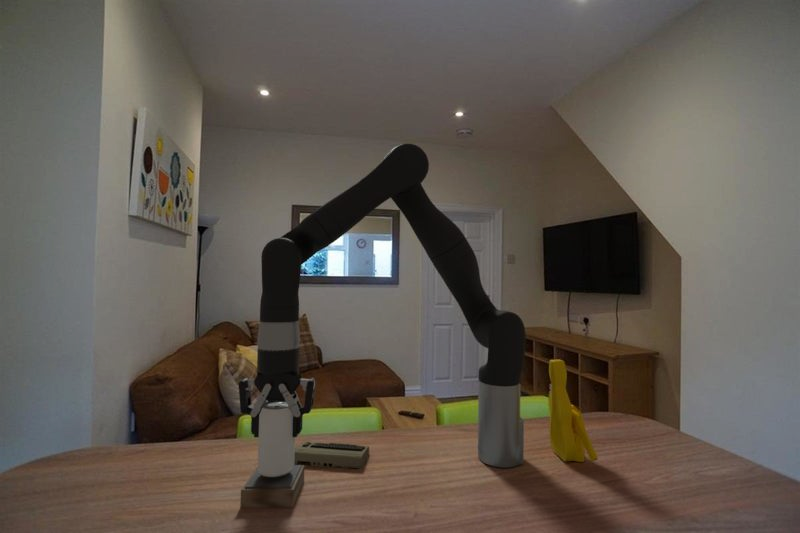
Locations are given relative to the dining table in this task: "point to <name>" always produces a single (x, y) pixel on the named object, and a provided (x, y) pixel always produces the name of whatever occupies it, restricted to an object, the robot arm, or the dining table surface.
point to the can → (276, 439)
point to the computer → (331, 454)
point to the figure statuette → (566, 419)
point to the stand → (272, 490)
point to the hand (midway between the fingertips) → (276, 435)
